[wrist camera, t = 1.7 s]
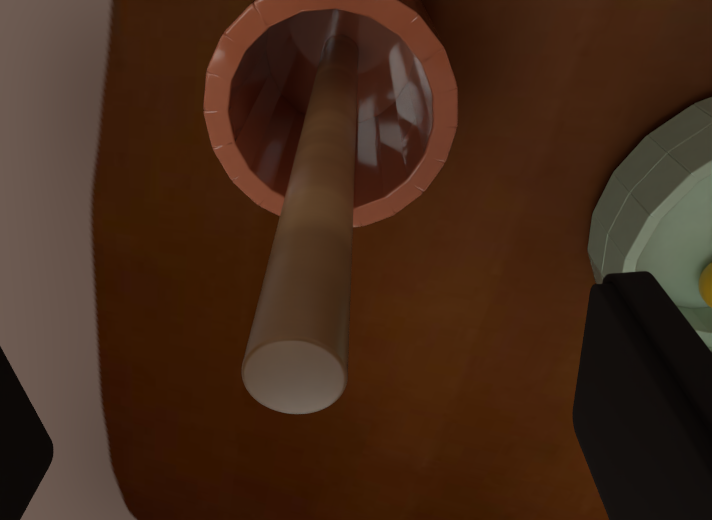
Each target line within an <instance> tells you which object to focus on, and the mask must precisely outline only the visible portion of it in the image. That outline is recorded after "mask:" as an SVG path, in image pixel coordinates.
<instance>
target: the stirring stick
mask: <svg viewBox="0 0 712 520" xmlns="http://www.w3.org/2000/svg"><path fill="white" fill-rule="evenodd" d="M357 85H358V48H357V45H356V44H355V42H354V41H353V40H352V39H351V38H349V37H347V36H344V35H335V36H333V37H331V38H329V39H328V40H327V41H326V42H325V44H324V46H323V49H322V53H321V57H320V61H319V65H318V69H317V73H316V77H315V80H314V84H313V88H312V92H311V96H310V100H309V104H308V108H307V112H306V116H305V120H304V124H303V128H302V132H301V136H300V139H299V143H298V147H297V151H296V155H295V159H294V163H293V167H292V171H291V175H290V179H289V183H288V187H287V191H286V194H285V198H284V202H283V206H282V210H281V214H280V218H279V222H278V226H277V230H276V234H275V238H274V242H273V246H272V249H271V253H270V257H269V261H268V265H267V269H266V273H265V277H264V281H263V285H262V289H261V293H260V297H259V301H258V305H257V308H256V312H255V316H254V320H253V324H252V328H251V332H250V336H249V340H248V344H247V348H246V352H245V356H244V360H243V363H242V379H243V382H244V384H245V387H246V389H247V390H248V392H249V393H250V394H251V395H252V396H253V397H254V398H255V399H256V400H257V401H258V402H259V403H261V404H263V405H264V406H266V407H268V408H270V409H273V410H276V411H279V412H283V413H289V414H306V413H312V412H316V411H319V410H322V409H324V408H326V407H328V406H330V405H331V404H333V403H334V402H335V401H336V400H337V399H338V398H339V397H340V396H341V394H342V393H343V391H344V389H345V387H346V384H347V379H348V353H349V323H350V294H351V264H352V234H353V204H354V174H355V145H356V115H357Z"/></svg>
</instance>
